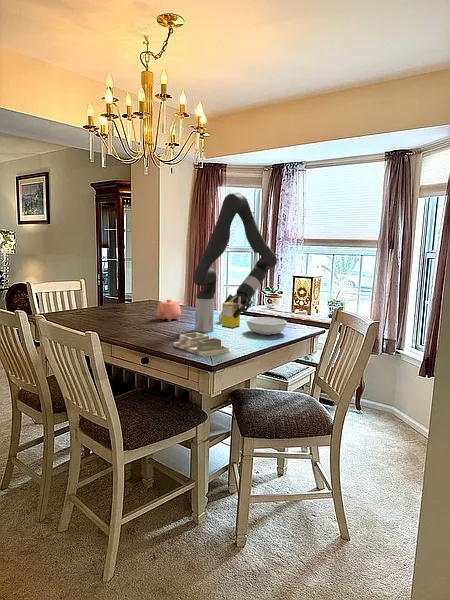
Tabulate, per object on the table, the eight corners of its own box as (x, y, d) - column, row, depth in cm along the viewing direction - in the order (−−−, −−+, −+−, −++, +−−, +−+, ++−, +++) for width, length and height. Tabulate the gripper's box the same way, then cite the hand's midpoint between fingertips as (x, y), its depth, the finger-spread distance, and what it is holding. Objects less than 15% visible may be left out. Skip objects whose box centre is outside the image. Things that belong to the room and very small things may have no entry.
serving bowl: (294, 334, 218) (294, 321, 217) (267, 340, 204) (268, 326, 203) (264, 327, 233) (264, 315, 232) (237, 332, 219) (238, 319, 218)
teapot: (170, 316, 258) (171, 296, 256) (186, 318, 252) (186, 298, 250) (149, 321, 241) (149, 300, 239) (165, 323, 235) (165, 302, 233)
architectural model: (216, 324, 240) (216, 311, 239) (222, 322, 246) (222, 309, 245) (221, 324, 239) (222, 311, 238) (227, 322, 245) (227, 310, 244)
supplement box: (239, 327, 187) (240, 303, 185) (232, 329, 182) (233, 304, 181) (228, 325, 191) (229, 301, 189) (221, 327, 186) (222, 303, 184)
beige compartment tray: (173, 345, 188) (173, 334, 187) (198, 341, 197) (198, 331, 196) (203, 356, 171) (203, 345, 171) (229, 351, 180) (229, 340, 180)
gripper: (233, 280, 193) (213, 307, 188) (255, 284, 183) (235, 313, 177) (241, 291, 198) (222, 317, 192) (263, 295, 187) (243, 323, 181)
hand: (228, 315), depth 185 cm, fingers closed on supplement box, 7 cm apart
